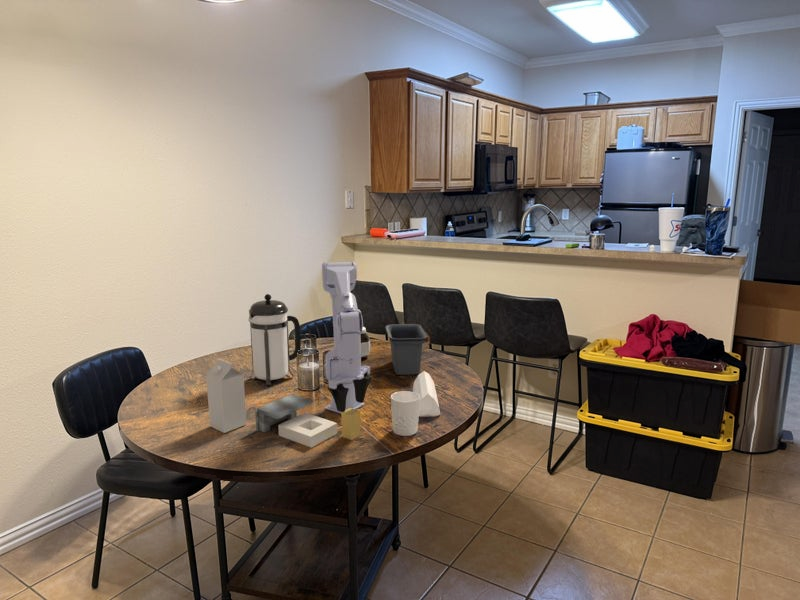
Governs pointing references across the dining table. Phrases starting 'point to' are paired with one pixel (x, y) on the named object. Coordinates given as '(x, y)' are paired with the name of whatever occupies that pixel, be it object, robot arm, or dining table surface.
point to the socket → (307, 429)
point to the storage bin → (406, 347)
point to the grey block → (279, 411)
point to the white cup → (405, 412)
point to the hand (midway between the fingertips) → (350, 406)
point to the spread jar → (364, 344)
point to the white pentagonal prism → (426, 395)
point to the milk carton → (226, 397)
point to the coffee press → (271, 339)
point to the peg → (350, 423)
